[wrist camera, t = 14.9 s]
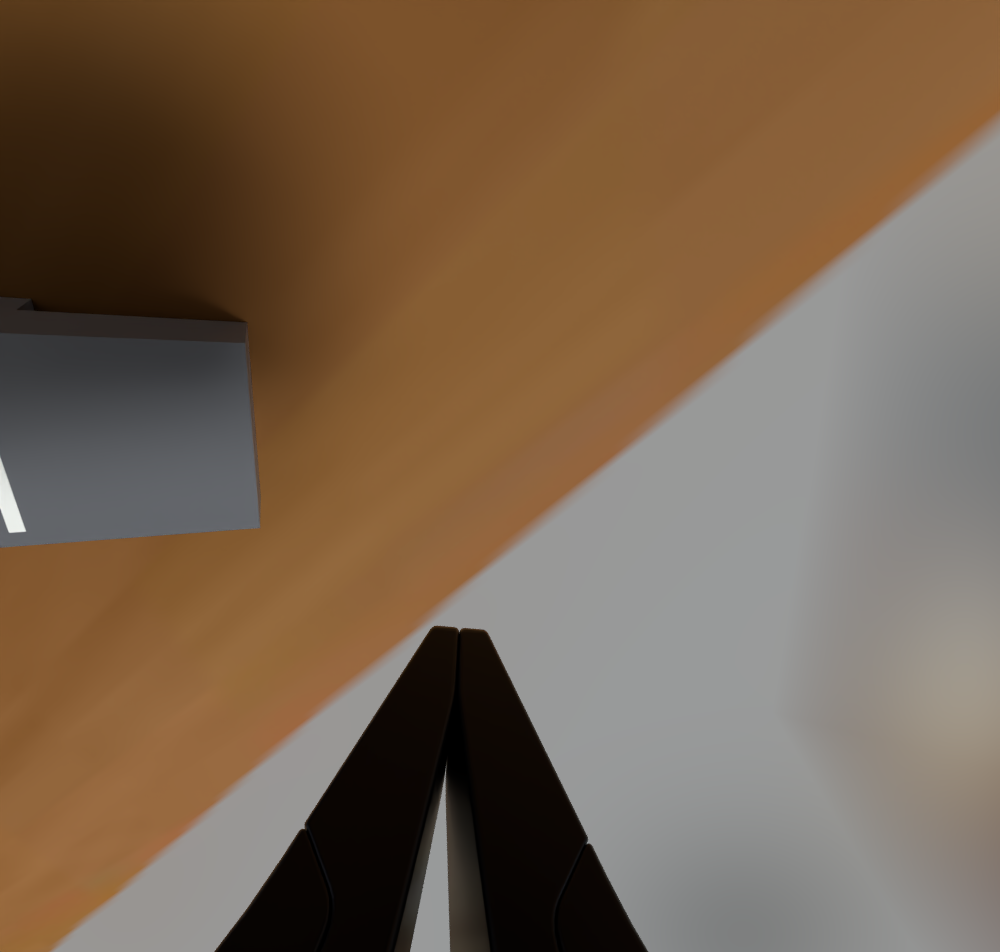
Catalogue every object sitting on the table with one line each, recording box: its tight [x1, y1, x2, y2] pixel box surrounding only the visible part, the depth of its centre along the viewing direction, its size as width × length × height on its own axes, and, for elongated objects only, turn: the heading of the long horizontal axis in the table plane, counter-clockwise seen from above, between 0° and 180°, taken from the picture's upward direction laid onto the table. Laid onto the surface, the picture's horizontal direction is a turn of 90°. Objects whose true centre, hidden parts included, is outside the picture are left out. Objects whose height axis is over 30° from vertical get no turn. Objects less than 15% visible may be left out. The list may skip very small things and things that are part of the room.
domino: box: [0, 309, 261, 547], centre depth 12 cm, size 2×5×10 cm
